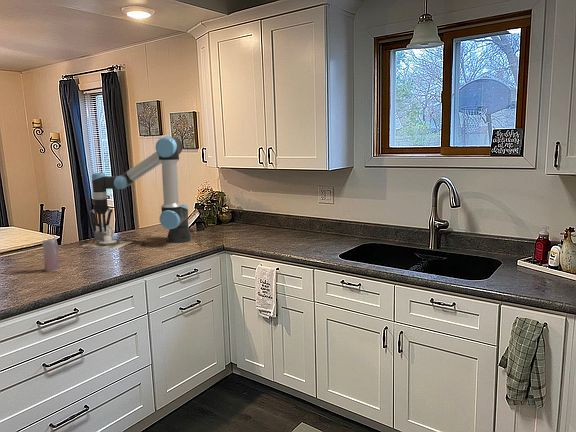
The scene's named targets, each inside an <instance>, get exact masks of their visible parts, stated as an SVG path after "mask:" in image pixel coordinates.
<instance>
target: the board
mask: <svg viewBox="0 0 576 432" xmlns="http://www.w3.org/2000/svg"><path fill="white" fill-rule="evenodd" d="M112 240H117V242H114V243H99V241H102V240H94V239H93V240H88V241H87V243H86V244H83V245H82V247H87V248H88V247H90V248H108V249H120V248H122V247H124V246H128V245H129V244H131V243H133V241H130V240H129V241H125V240H124V241H123V240H119V239H117V238H112Z"/></svg>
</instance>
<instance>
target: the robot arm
mask: <svg viewBox="0 0 576 432" xmlns="http://www.w3.org/2000/svg"><path fill="white" fill-rule="evenodd" d="M182 152H183V142H182V141H181V140H180V138H178V137H176V136H175V137H174V136H163V137H160V138H159V139H158V140H157V141H156V143H155V151H154V152H153V153H152V154H151V155H149V156H148V157H146V158H145V159H144V160H142V161H141V162H139V163H137V164H135V165H134V166H132V167H131V168H130V169H128V170H127V171H125V172H124V173H122V174H121V175H116V176H113V175H111V176H108V175H106V173H105V172H93V173H92V174H91V184H92V196H93V208H92V210H89V213H90V214H91V216H92V219H93V222H94V224H95V227H96V226H98V227H99V231H100V232H103V233H105V232H106V226H107V225H109V223H110V221H111V216H112V213H113V212H114V211H113V210H114V209H112V208H110V207H109V205H108V199H107V198H108V195H107V190H123V189H124V190H125V189H126V188H127V187H129V186H131V185H132V184H133V183H134V182H136V181H137V180H138V179H140V178H141V177H143V176H145V175H146V174H147V173H149V172H150V171H152V170H154V169H155V168H157V167H158V166H159V165H161V176H162V177H161V178H162V195H163V197H162V198H163V204H162V205H161V206H160V207H161V208H160V209H161V213H160V215H159V223H160V224H161V226H162V227H163V228H165V229H167V230H168V233H167V237H166V239H167V242H169V243H187V242H190V241H192V240H191V239H193V237H192V233H191V232H190V229H189V208H188V205H187V204H180V203H179V186H178V184H179V182H178V164H177V163H178V162H179V161H180V154H181V153H182ZM107 212H108V213H107ZM95 213H96V214H95ZM106 213H107V218H106ZM96 215H97V217H96ZM101 222H103V226H102V223H101ZM98 223H99V224H98ZM189 240H190V241H189ZM186 241H187V242H186Z"/></svg>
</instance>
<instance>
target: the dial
mask: <svg viewBox="0 0 576 432" xmlns="http://www.w3.org/2000/svg"><path fill="white" fill-rule="evenodd" d="M112 237H113V236H112V235H111V234H110V235H107V233H103V232H100V231H96V230H95V231H94V239H95V241H97V240H102V241H99V243H114V242H117V240H112V239H113V238H112Z"/></svg>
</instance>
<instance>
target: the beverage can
mask: <svg viewBox="0 0 576 432" xmlns="http://www.w3.org/2000/svg"><path fill="white" fill-rule="evenodd" d="M57 244H58V241H57V239H56V238H46V239H43V240H42V252H43V263H44V265H43V266H44V270H45V272H48V273H49V272H50V273H51V272H56V271H58V270H59V269H60V267H59V264H60V263H59V255H58V245H57Z"/></svg>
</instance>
